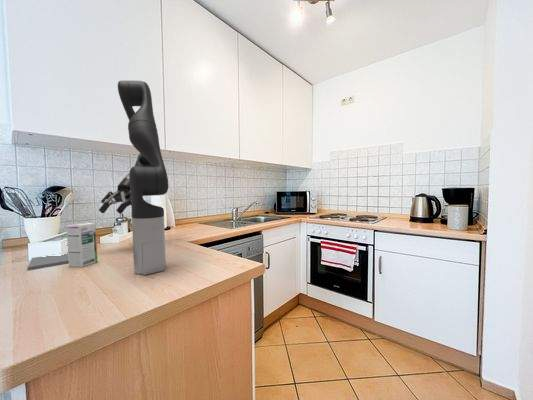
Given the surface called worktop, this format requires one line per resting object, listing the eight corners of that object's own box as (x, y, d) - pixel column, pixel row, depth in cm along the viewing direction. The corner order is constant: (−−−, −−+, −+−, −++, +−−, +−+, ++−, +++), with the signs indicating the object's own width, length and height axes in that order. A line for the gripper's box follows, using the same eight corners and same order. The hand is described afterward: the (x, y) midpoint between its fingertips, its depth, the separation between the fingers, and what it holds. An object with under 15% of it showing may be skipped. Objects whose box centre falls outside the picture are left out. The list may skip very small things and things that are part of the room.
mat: (75, 262, 82) (75, 259, 82) (27, 270, 74) (27, 267, 74) (74, 254, 93) (74, 251, 93) (32, 260, 85) (32, 257, 85)
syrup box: (82, 267, 77) (79, 224, 76) (68, 266, 78) (65, 224, 77) (97, 262, 82) (95, 222, 81) (84, 261, 83) (82, 222, 83)
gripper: (113, 177, 99) (88, 205, 89) (140, 176, 96) (118, 206, 86) (123, 189, 105) (101, 217, 94) (150, 189, 102) (130, 218, 91)
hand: (109, 212), depth 90 cm, fingers open, 8 cm apart
